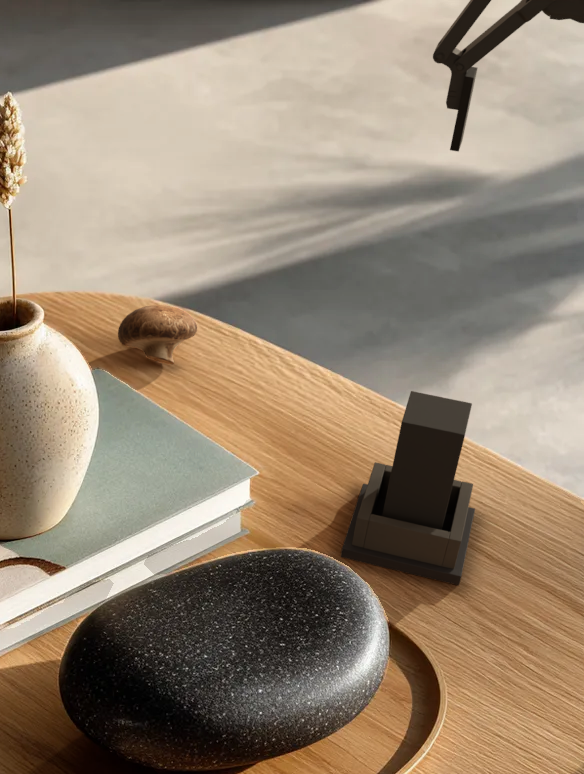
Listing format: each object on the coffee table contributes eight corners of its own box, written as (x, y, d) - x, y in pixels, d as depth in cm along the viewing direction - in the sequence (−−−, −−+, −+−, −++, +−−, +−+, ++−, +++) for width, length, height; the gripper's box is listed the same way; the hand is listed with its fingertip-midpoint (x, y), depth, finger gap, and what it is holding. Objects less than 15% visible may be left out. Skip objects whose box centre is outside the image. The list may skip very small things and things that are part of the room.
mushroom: (185, 359, 132) (175, 296, 132) (112, 372, 135) (102, 311, 135) (211, 360, 139) (202, 301, 139) (141, 373, 143) (132, 315, 143)
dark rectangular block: (444, 518, 117) (472, 403, 109) (436, 552, 113) (464, 435, 106) (386, 505, 118) (411, 390, 111) (377, 538, 114) (401, 421, 107)
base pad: (473, 517, 118) (482, 480, 116) (459, 585, 111) (468, 548, 109) (361, 491, 121) (368, 455, 119) (340, 557, 113) (347, 520, 111)
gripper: (771, -97, 102) (687, 165, 115) (443, -132, 108) (398, 120, 121) (776, -74, 97) (687, 199, 109) (430, -112, 103) (384, 150, 116)
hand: (535, 158), depth 115 cm, fingers open, 13 cm apart
